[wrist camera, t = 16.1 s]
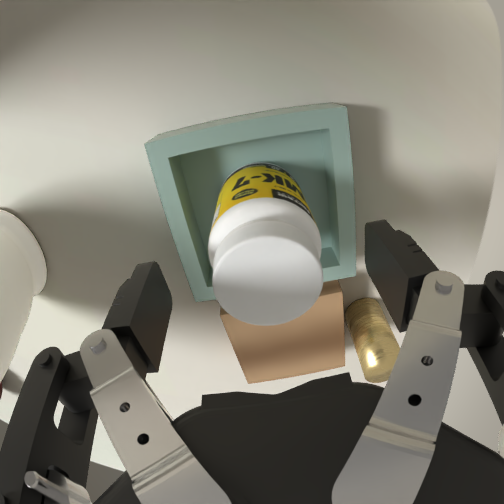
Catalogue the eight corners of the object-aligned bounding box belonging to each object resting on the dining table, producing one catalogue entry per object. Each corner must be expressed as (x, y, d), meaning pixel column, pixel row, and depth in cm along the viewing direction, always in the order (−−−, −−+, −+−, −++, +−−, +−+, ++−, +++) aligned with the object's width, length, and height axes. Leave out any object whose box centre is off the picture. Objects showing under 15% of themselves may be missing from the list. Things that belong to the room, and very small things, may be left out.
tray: (158, 134, 17) (144, 143, 14) (331, 102, 16) (346, 106, 13) (200, 276, 22) (195, 302, 19) (344, 252, 21) (355, 275, 18)
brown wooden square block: (222, 287, 23) (219, 315, 20) (331, 265, 22) (342, 291, 19) (247, 356, 27) (248, 383, 24) (337, 339, 26) (345, 365, 23)
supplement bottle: (307, 167, 17) (353, 237, 10) (291, 239, 20) (316, 338, 12) (223, 154, 17) (206, 217, 10) (214, 229, 19) (197, 327, 12)
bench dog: (344, 301, 23) (366, 361, 18) (380, 294, 23) (408, 350, 18) (344, 328, 25) (363, 386, 20) (378, 321, 24) (401, 376, 19)
